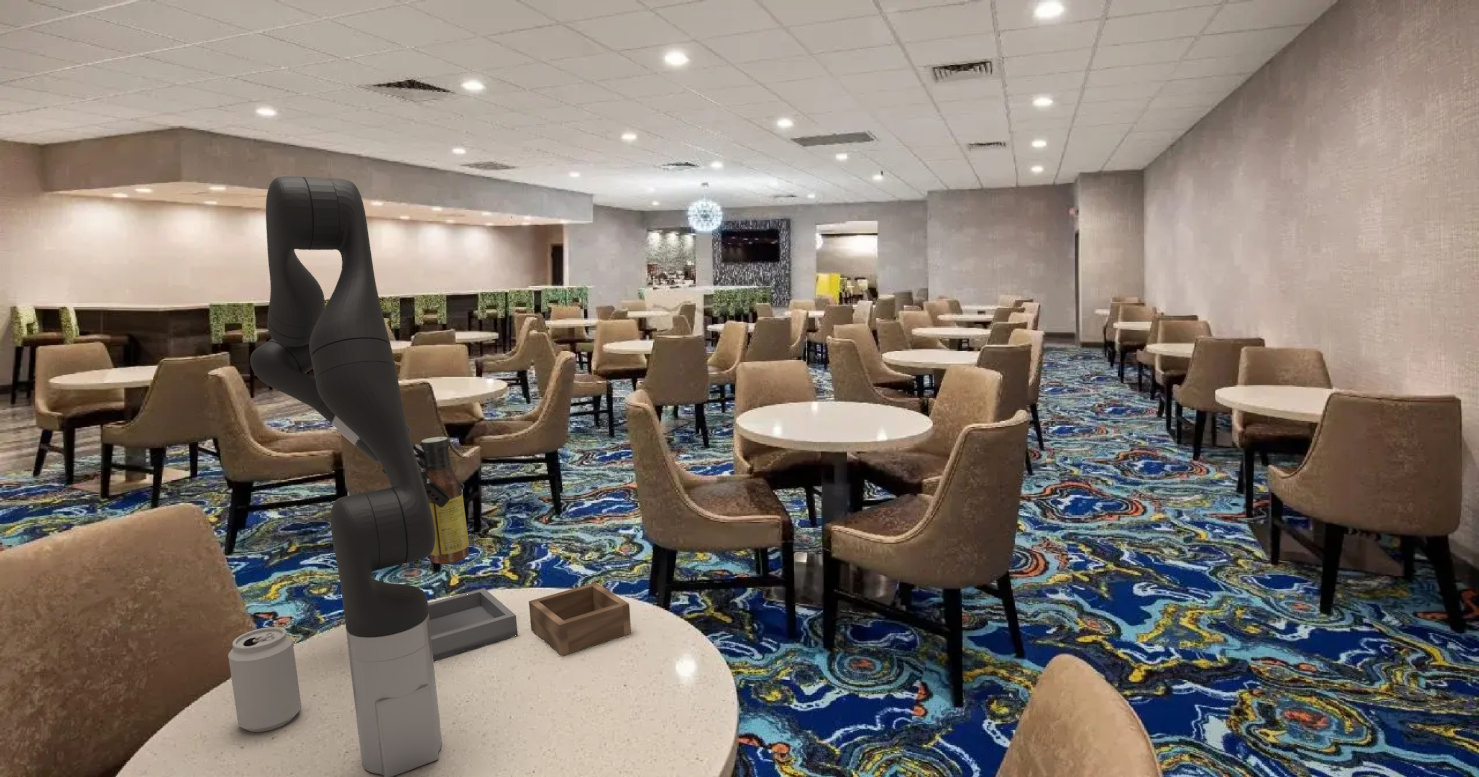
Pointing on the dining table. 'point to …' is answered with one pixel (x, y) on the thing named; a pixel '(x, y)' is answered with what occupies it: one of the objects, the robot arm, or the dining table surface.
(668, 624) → the dining table surface
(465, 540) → the sauce bottle
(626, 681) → the dining table surface
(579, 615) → the bottle holder
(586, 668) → the dining table surface
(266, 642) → the can
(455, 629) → the tray
